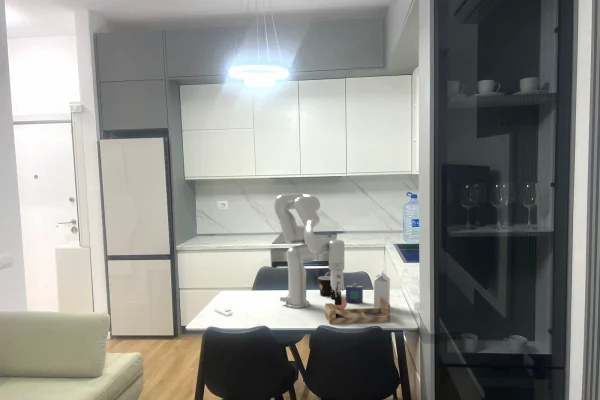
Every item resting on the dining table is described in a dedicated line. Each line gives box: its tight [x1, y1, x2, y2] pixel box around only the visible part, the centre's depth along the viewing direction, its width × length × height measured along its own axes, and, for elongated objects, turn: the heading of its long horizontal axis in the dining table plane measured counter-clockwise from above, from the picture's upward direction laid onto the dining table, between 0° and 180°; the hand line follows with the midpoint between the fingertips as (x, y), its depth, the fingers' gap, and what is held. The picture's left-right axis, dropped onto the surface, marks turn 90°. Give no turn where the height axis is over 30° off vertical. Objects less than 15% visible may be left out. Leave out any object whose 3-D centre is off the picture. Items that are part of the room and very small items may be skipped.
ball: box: [333, 296, 348, 310], centre depth 200 cm, size 6×6×6 cm
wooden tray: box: [324, 297, 391, 325], centre depth 201 cm, size 29×13×8 cm, turn 96°
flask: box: [345, 282, 364, 304], centre depth 225 cm, size 9×3×11 cm, turn 87°
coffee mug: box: [318, 275, 333, 298], centre depth 237 cm, size 12×9×10 cm
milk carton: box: [373, 270, 391, 308], centre depth 215 cm, size 7×7×19 cm
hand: (336, 301), depth 199 cm, fingers open, 7 cm apart
